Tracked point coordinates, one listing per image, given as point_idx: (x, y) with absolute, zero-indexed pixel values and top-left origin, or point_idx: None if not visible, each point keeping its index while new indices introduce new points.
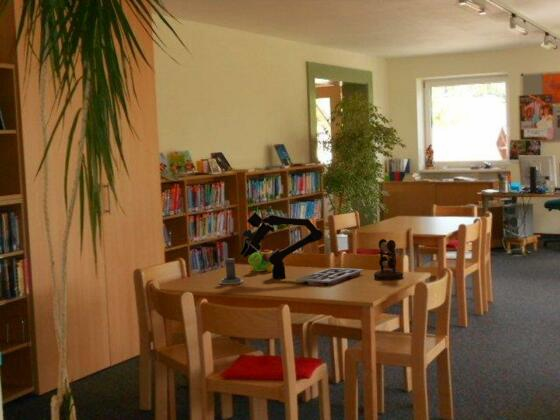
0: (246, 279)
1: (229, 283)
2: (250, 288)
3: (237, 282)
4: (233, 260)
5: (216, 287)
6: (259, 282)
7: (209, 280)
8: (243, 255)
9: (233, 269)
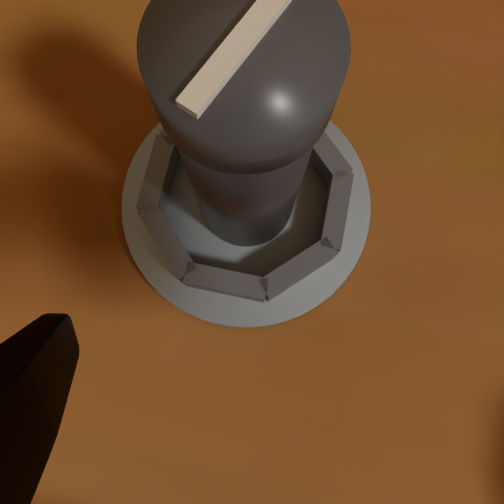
0: (343, 386)
1: (141, 163)
2: None
3: (144, 243)
4: (158, 111)
5: (80, 43)
6: (65, 477)
7: (485, 52)
8: (33, 322)
9: (188, 174)
